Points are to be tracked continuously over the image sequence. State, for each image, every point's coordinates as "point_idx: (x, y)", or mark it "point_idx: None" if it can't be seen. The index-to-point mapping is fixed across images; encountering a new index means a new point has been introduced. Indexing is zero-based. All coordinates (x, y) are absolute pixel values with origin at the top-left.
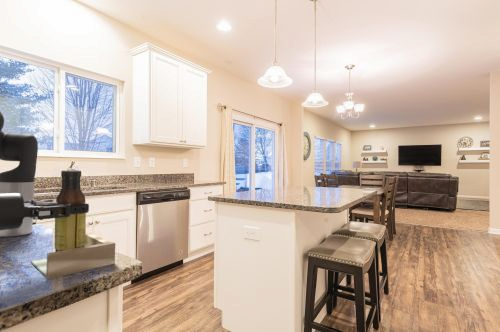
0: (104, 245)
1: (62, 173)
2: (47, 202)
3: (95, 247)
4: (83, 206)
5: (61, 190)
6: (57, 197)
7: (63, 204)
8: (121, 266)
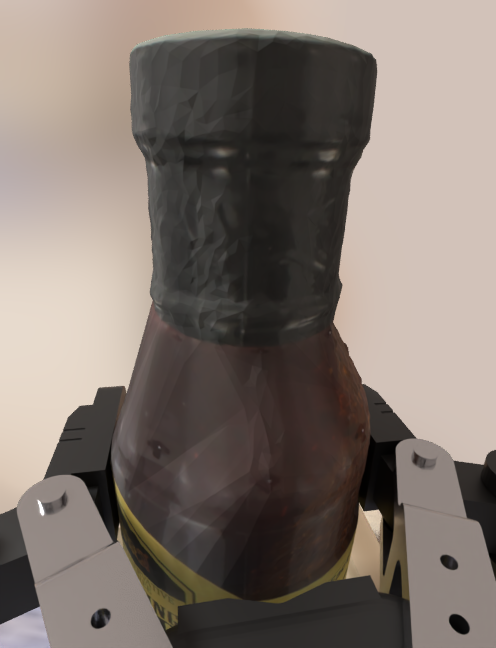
0: (359, 508)
1: (312, 90)
2: (486, 624)
3: (379, 546)
4: (380, 401)
5: (265, 360)
6: (279, 463)
7: (430, 485)
8: (374, 523)
